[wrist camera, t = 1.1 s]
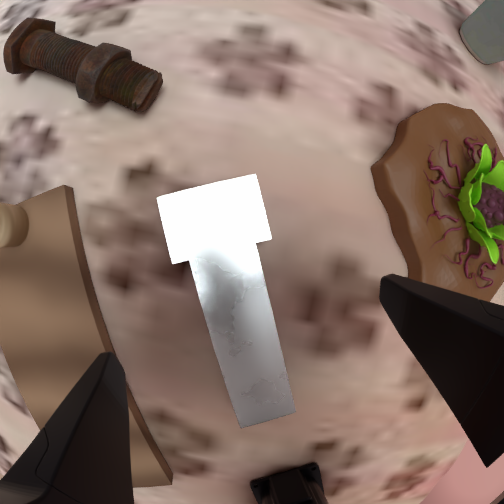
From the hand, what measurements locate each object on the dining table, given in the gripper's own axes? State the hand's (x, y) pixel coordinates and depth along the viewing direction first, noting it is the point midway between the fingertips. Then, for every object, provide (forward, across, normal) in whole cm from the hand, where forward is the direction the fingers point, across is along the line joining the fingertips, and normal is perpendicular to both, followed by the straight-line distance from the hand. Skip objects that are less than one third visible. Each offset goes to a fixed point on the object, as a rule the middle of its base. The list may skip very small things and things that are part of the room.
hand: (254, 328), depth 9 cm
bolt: (+18, +8, -12) cm, 24 cm away
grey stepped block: (+10, 0, +6) cm, 12 cm away
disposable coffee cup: (+19, -39, -15) cm, 46 cm away
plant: (+12, -23, +4) cm, 26 cm away
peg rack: (+9, +14, +8) cm, 19 cm away
